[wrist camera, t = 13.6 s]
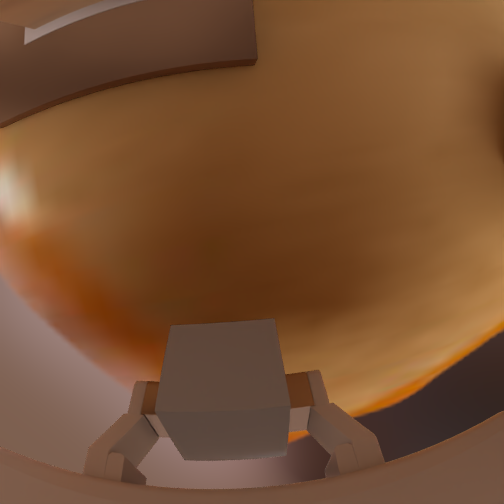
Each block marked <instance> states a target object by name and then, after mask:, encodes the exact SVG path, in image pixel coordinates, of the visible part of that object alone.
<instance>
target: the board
mask: <svg viewBox="0 0 504 504" xmlns="http://www.w3.org/2000/svg"><path fill="white" fill-rule="evenodd" d="M257 59H258V58H257V46H256V34H255V23H254V12H253V1H252V0H104V1H101V2H98V3H95V4H92V5H89V6H87V7H84V8H81V9H79V10H76V11H74V12H71V13H69V14H67V15H64V16H62V17H60V18H57V19H55V20H53V21H51V22H49V23H47V24H45V25H43V26H41V27H39V28H37V29H31V28H27V27H23V26H19V25H15V24H11V23H6V22H2V21H0V128H3V127H5V126H7V125H9V124H11V123H14V122H16V121H18V120H20V119H23V118H25V117H27V116H29V115H32V114H34V113H37V112H39V111H42V110H44V109H47V108H49V107H52V106H55V105H57V104H60V103H63V102H66V101H69V100H72V99H75V98H78V97H81V96H84V95H87V94H90V93H94V92H97V91H101V90H104V89H108V88H111V87H115V86H119V85H123V84H127V83H131V82H136V81H140V80H145V79H150V78H154V77H160V76H165V75H171V74H177V73H183V72H189V71H197V70H204V69H213V68H222V67H233V66H247V65H255V63H256V61H257Z"/></svg>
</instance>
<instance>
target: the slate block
mask: <svg viewBox="0 0 504 504" xmlns="http://www.w3.org/2000/svg"><path fill="white" fill-rule="evenodd" d="M290 409H291V404H290V398H289V393H288V388H287V382H286V377H285V371H284V366H283V361H282V356H281V350H280V345H279V340H278V334H277V329H276V324H275V319H274V318H271V319H260V320H249V321H236V322H222V323H206V324H186V325H171V327H170V332H169V336H168V341H167V346H166V351H165V356H164V361H163V366H162V372H161V377H160V383H159V388H158V394H157V399H156V405H155V413H156V415H157V416H158V418H159V420H160V422H161V423H162V425H163V427H164V428H165V430H166V432H167V433H168V435H169V437H170V438H171V440H172V441H173V442H174V445H175V446H176V448H177V449H178V451H179V452H180V454H181V455H182V457H183V458H184V460H196V461H200V460H201V461H205V460H206V461H211V460H212V461H213V460H214V461H215V460H242V459H257V458H269V457H278V456H286V453H287V443H288V432H289V421H290Z"/></svg>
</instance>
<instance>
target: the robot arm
mask: <svg viewBox="0 0 504 504" xmlns="http://www.w3.org/2000/svg"><path fill="white" fill-rule="evenodd" d="M285 377H286V382H287V388H288V393H289V398H290V404H291V409H290V421H289V432H292V431H301V430H307V431H308V432H309V433H310V434H311V435H312V436H313V437H314V438H315V439H316V440H317V441H318V442H319V443H320V444H321V446H322V447H323V448H324V449H326V451H327V452H329V453H330V454H331V458H330V460H329V462H328V465H327V467H326V469H325V474H326V478H324V479H319V480H313V481H307V482H301V483H295V484H288V485H279V486H270V487H257V488H243V489H184V488H168V487H157V486H148V485H146V479H147V478H146V477H145V476H144V475H143V474H142V473H141V472H140V471H139V470H138V469H137V466H138V465H139V464H140V462H141V461H142V460H143V459H144V457H145V456H146V455H147V453H148V452H149V451H150V450H151V448H152V447H153V445H154V444H155V443H156V442H157V440H158V439H159V437H169V435H168V433H167V432H166V430H165V428H164V427H163V425H162V423H161V422H160V420H159V418H158V416H157V415H156V413H155V405H156V399H157V394H158V388H159V383H160V382H155V381H136V383H135V385H134V389H133V393H132V397H131V401H130V405H129V410H128V414H123V415H122V416H121V417H120V418H119V419H118V420H117V421H116V422H115V423H114V424H113V425H112V426H111V427H110V428H109V429H108V430H107V431H106V432H105V433H104V434H102V435H101V436H100V437H99V438H98V439H97V440H96V441H95V442H94V443H93V444H92V445H91V446H90V447H89V449H88V453H87V457H86V461H85V465H84V469H83V474H81V473H77V472H73V471H69V470H66V469H62V468H59V467H55V466H52V465H49V464H46V463H43V462H40V461H36V460H34V459H31V458H28V457H26V456H23V455H20V454H18V453H15V452H12V451H10V450H8V449H5V448H3V447H1V446H0V504H504V411H502V412H500V413H498V414H496V415H494V416H492V417H491V418H489V419H487V420H485V421H484V422H482V423H480V424H478V425H476V426H475V427H472V428H470V429H468V430H466V431H464V432H462V433H461V434H458V435H456V436H454V437H452V438H450V439H448V440H445V441H443V442H441V443H438V444H436V445H434V446H431V447H429V448H426V449H424V450H421V451H419V452H416V453H413V454H411V455H408V456H405V457H402V458H399V459H396V460H393V461H390V462H387V463H385V462H384V458H383V455H382V452H381V450H380V447H379V444H378V441H377V438H376V435H374V434H373V433H372V432H370V431H369V430H368V429H366V428H365V427H364V426H363V425H361V424H360V423H358V422H357V421H356V420H355V419H353V418H352V417H351V416H349V415H348V414H347V413H346V412H344V411H343V410H342V409H341V408H339V407H338V406H337V405H335V404H334V403H329V399H328V396H327V393H326V389H325V386H324V382H323V379H322V376H321V372H320V371H319V370H314V371H308V372H299V373H292V374H285Z"/></svg>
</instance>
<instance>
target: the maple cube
mask: <svg viewBox="0 0 504 504" xmlns="http://www.w3.org/2000/svg"><path fill="white" fill-rule="evenodd" d="M101 1H104V0H0V21H2V22H6V23H11V24H15V25H19V26H23V27H27V28H31V29H37V28H39V27H41V26H43V25H45V24H47V23H49V22H51V21H53V20H55V19H57V18H60V17H62V16H64V15H67V14H69V13H71V12H74V11H76V10H79V9H81V8H84V7H87V6H89V5H92V4H95V3H98V2H101Z"/></svg>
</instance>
